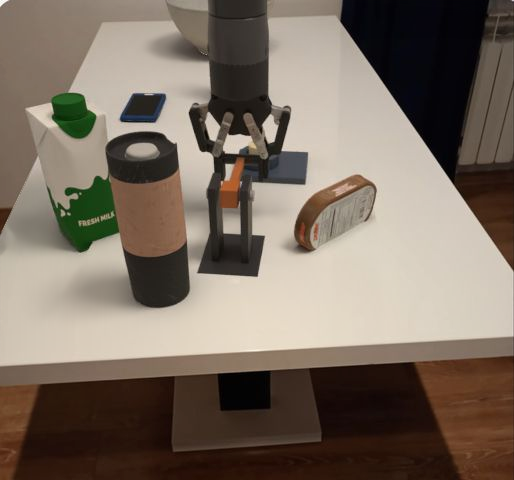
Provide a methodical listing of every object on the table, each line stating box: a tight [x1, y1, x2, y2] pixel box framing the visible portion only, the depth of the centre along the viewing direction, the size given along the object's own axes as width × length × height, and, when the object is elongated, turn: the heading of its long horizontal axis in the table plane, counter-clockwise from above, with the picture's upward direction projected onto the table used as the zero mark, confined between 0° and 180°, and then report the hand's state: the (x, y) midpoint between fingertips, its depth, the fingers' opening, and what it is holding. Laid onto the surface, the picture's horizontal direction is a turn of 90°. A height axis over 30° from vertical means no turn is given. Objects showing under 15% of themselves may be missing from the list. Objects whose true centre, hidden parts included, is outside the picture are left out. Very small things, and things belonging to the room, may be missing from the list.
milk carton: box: [25, 92, 120, 253], centre depth 78 cm, size 9×9×20 cm
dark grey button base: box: [238, 145, 309, 186], centre depth 97 cm, size 12×10×4 cm
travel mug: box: [105, 130, 191, 309], centre depth 67 cm, size 8×8×20 cm
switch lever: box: [220, 152, 259, 210], centre depth 77 cm, size 13×5×2 cm, turn 174°
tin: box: [293, 174, 378, 252], centre depth 81 cm, size 15×3×8 cm, turn 133°
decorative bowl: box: [164, 0, 275, 56], centre depth 146 cm, size 27×27×12 cm
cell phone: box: [119, 92, 167, 122], centre depth 120 cm, size 7×14×1 cm, turn 178°
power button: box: [248, 140, 271, 155], centre depth 96 cm, size 4×4×2 cm
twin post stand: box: [196, 172, 266, 278], centre depth 76 cm, size 10×8×12 cm
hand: (241, 179), depth 83 cm, fingers closed on switch lever, 5 cm apart
